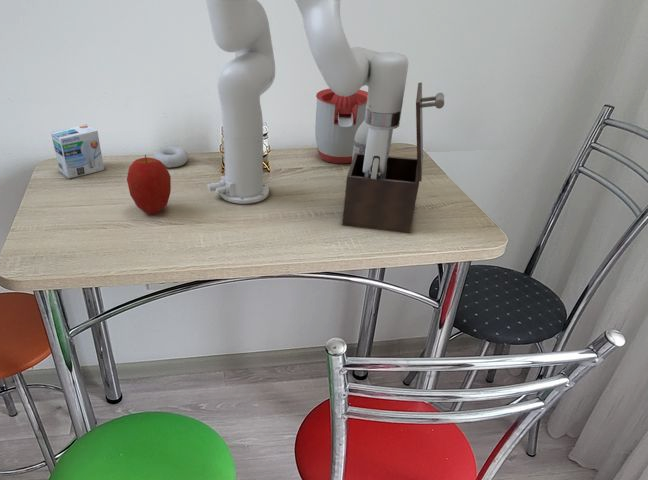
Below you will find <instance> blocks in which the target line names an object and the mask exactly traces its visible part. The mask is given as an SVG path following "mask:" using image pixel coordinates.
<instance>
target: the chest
mask: <svg viewBox="0 0 648 480" xmlns="http://www.w3.org/2000/svg"><path fill="white" fill-rule="evenodd" d="M364 156H365V154H360V153H355V154H354V157H353V160H352V163H351V164H350V167H349V169H348V172H347V174H346V175H347V176H346V181H345V182H346V183H345V194H344V201H343V202H344V205H343V212H342V213H343V214H342V224H341V225H342V226H344V227H355V228H364V229H371V230H379V231H389V232H397V233H405V234H411V230H412V225H413V224H412V223H413V220H414V219H413V218H414V214H415V208H416V203H417V202H416V201H417V197H418V193H419V188H420V182H418V178H417V158H414V157H413V158H412V157H403V156H393V155H392V156H391V155H389V156H388V160H387V172H386V179H379V178H376V179H371V178H369V177H365V173H363V164H364Z"/></svg>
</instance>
